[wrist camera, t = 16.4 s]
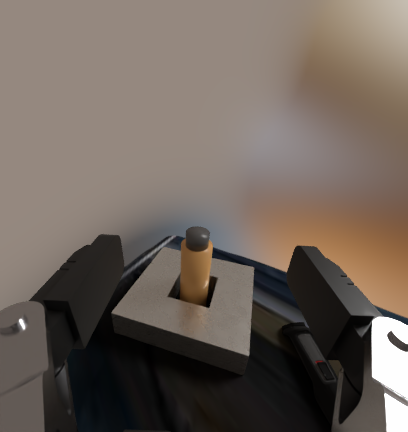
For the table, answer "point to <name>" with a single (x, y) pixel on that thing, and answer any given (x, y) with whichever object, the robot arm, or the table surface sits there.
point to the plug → (195, 266)
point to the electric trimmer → (315, 366)
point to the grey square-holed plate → (191, 312)
